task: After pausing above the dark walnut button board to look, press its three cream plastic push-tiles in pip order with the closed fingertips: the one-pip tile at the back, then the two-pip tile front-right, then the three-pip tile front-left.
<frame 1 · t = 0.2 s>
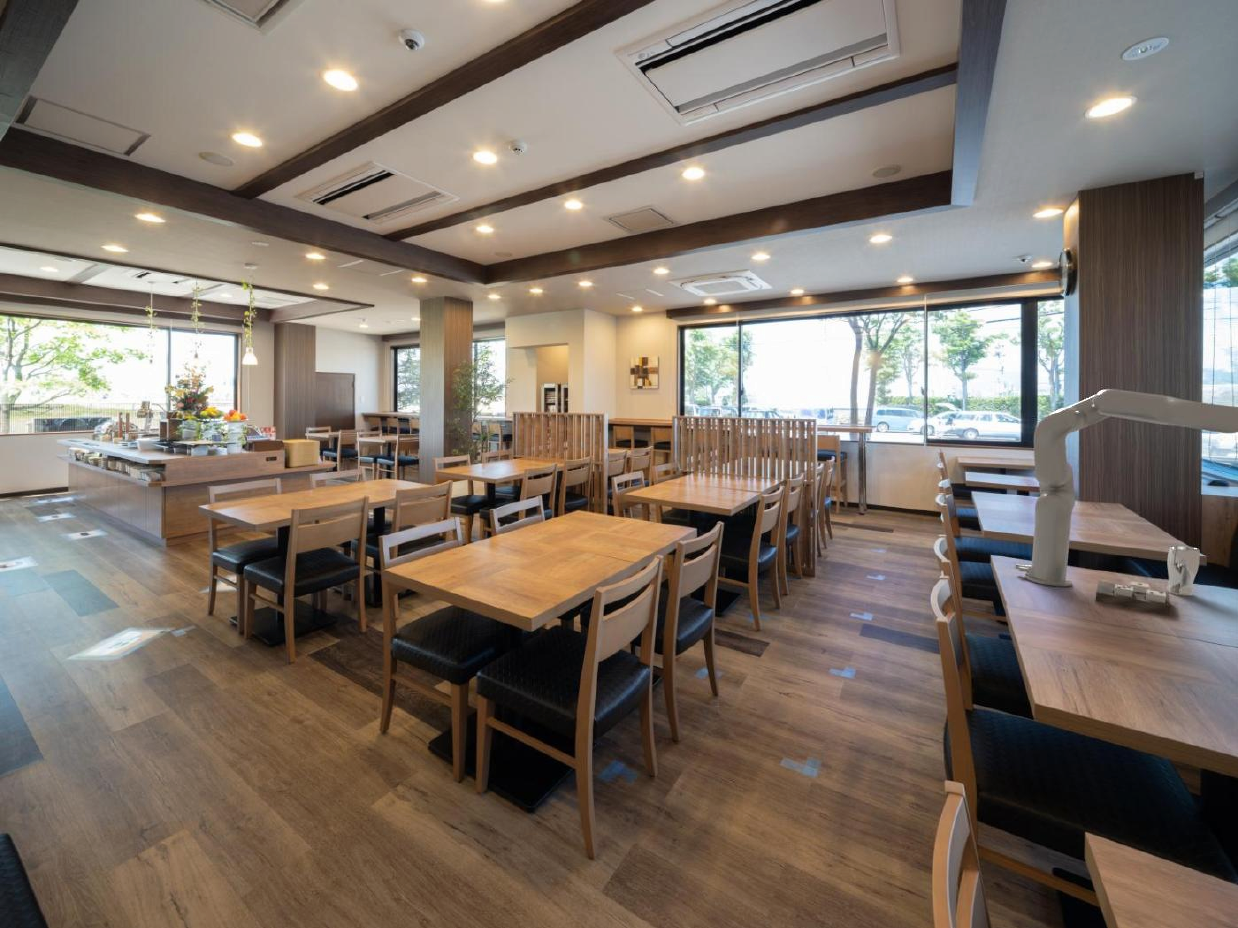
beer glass: (1179, 593, 170), on the table
tile two pips: (1155, 597, 157), point 4 cm above the table, slide at 0.0 cm
tile three pips: (1123, 591, 162), point 4 cm above the table, slide at 0.0 cm
tile one pip: (1139, 588, 165), point 4 cm above the table, slide at 0.0 cm
button board: (1131, 601, 163), on the table
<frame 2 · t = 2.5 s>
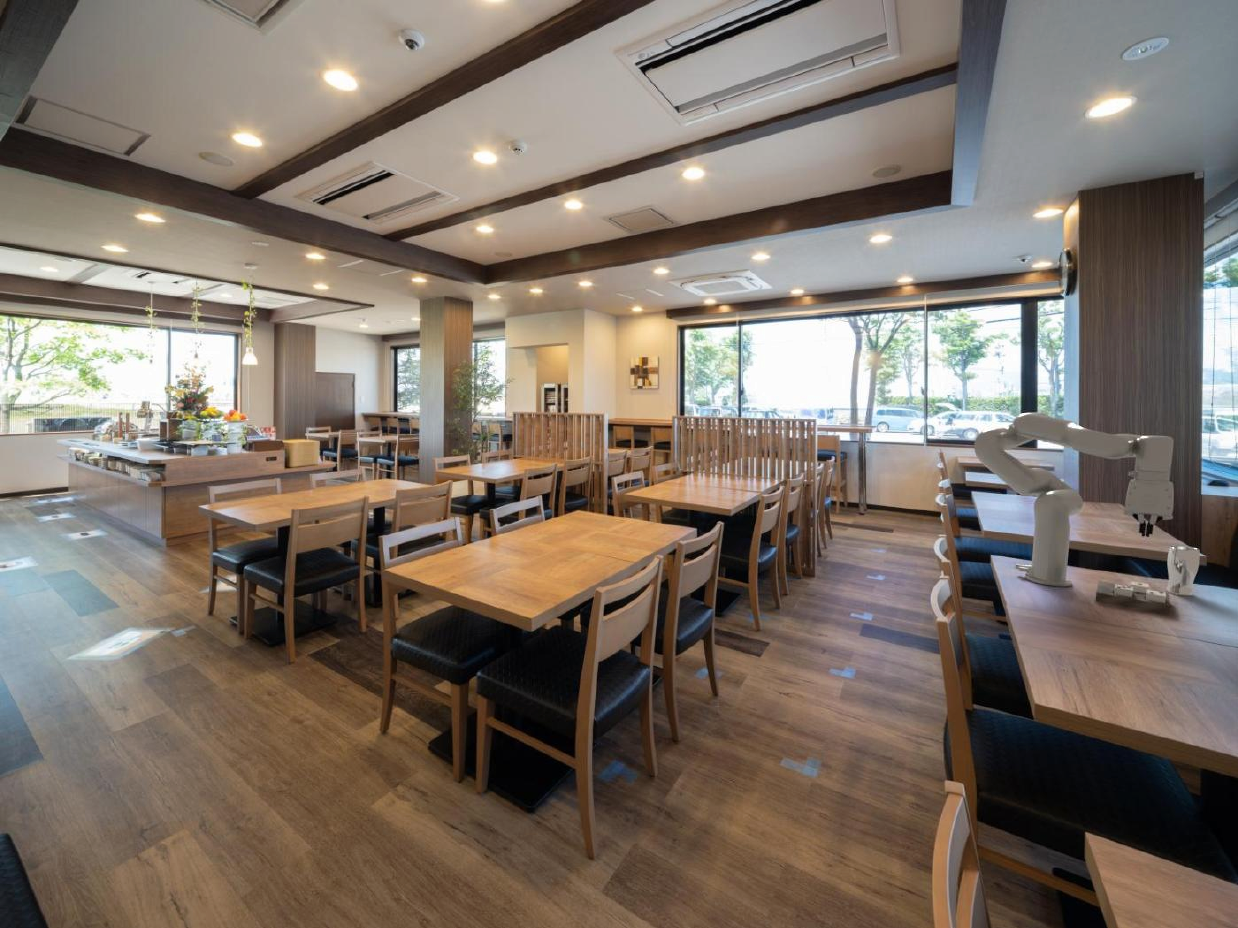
hand: (1145, 535, 160), 21 cm above the table, fingers closed
nothing on the table moved.
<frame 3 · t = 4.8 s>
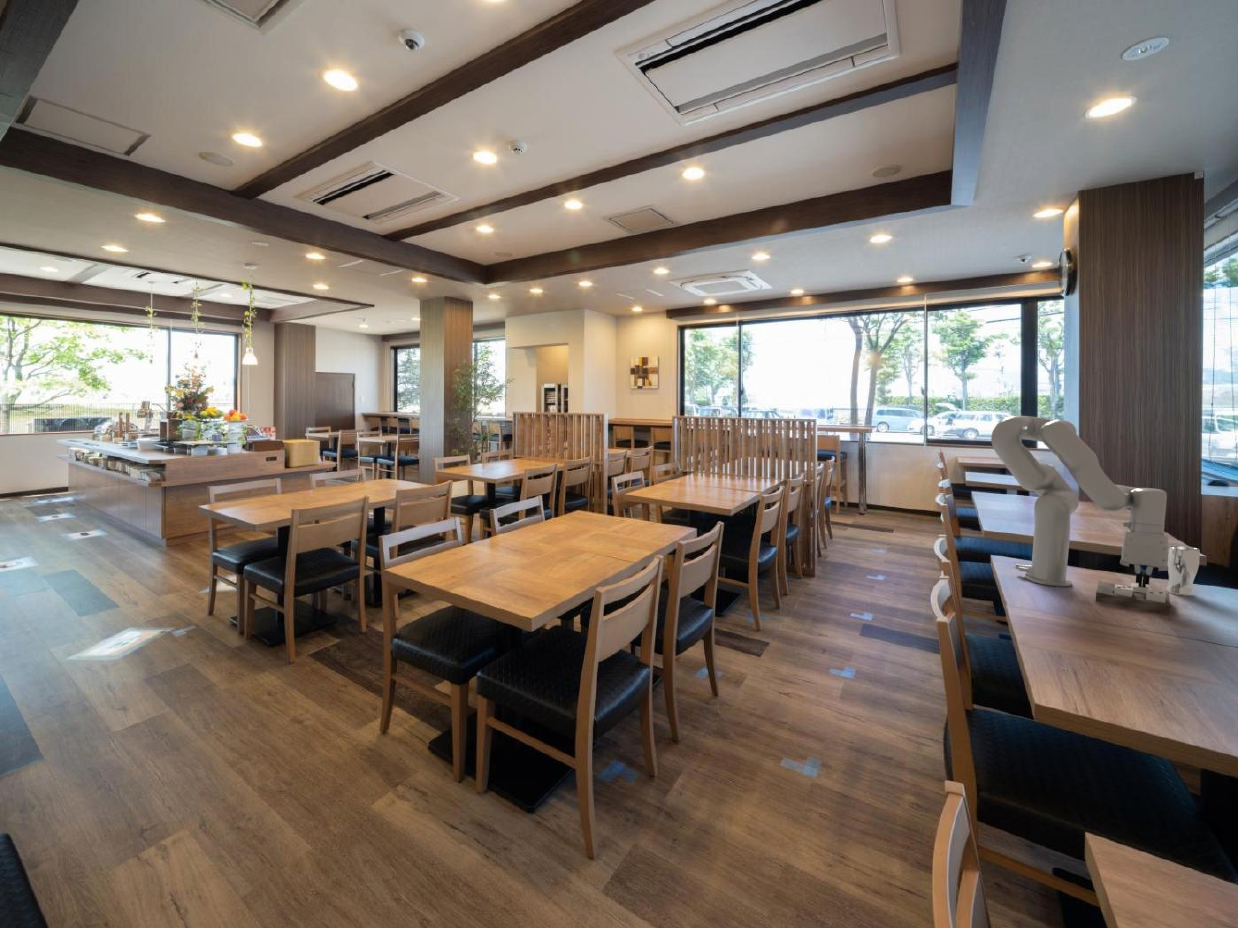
hand: (1142, 585, 164), 5 cm above the table, fingers closed
tile one pip: (1139, 590, 165), point 3 cm above the table, slide at 0.5 cm, touching gripper
everything else where it was.
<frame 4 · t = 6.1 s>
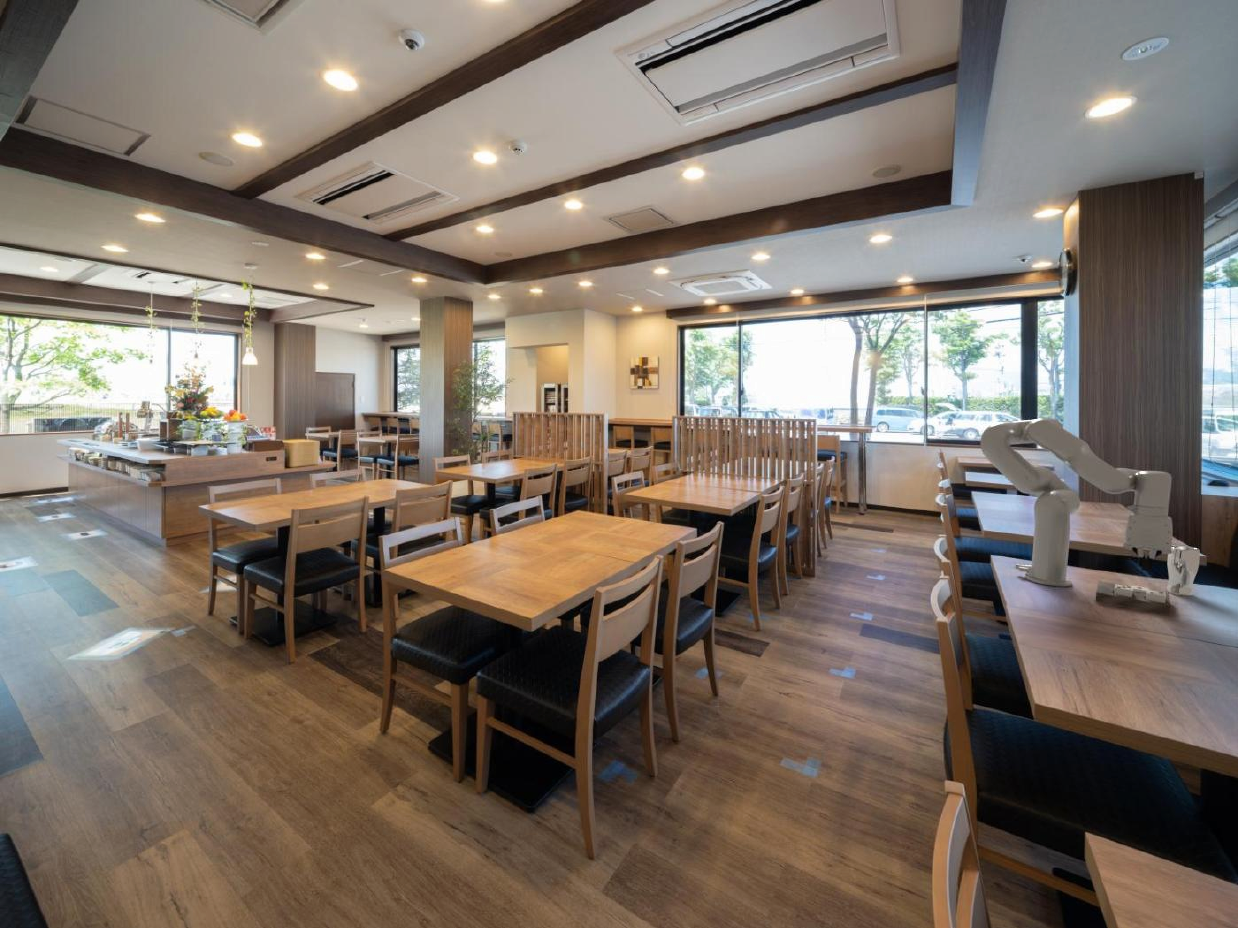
hand: (1144, 569, 163), 10 cm above the table, fingers closed
tile one pip: (1138, 592, 165), point 2 cm above the table, slide at 1.2 cm
everything else where it was.
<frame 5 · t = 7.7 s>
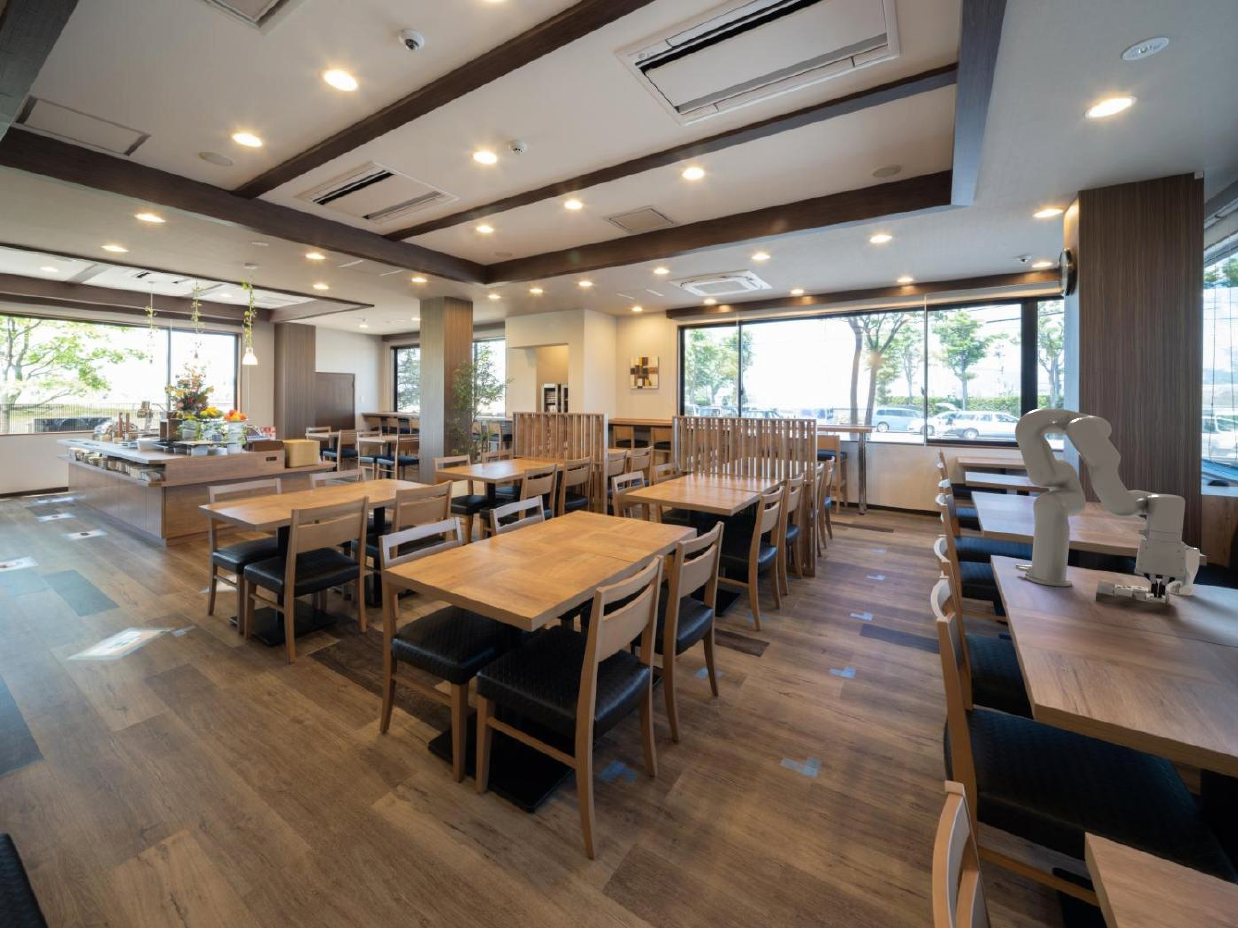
hand: (1157, 596, 157), 4 cm above the table, fingers closed
tile two pips: (1155, 601, 157), point 2 cm above the table, slide at 1.1 cm, touching gripper
everything else where it was.
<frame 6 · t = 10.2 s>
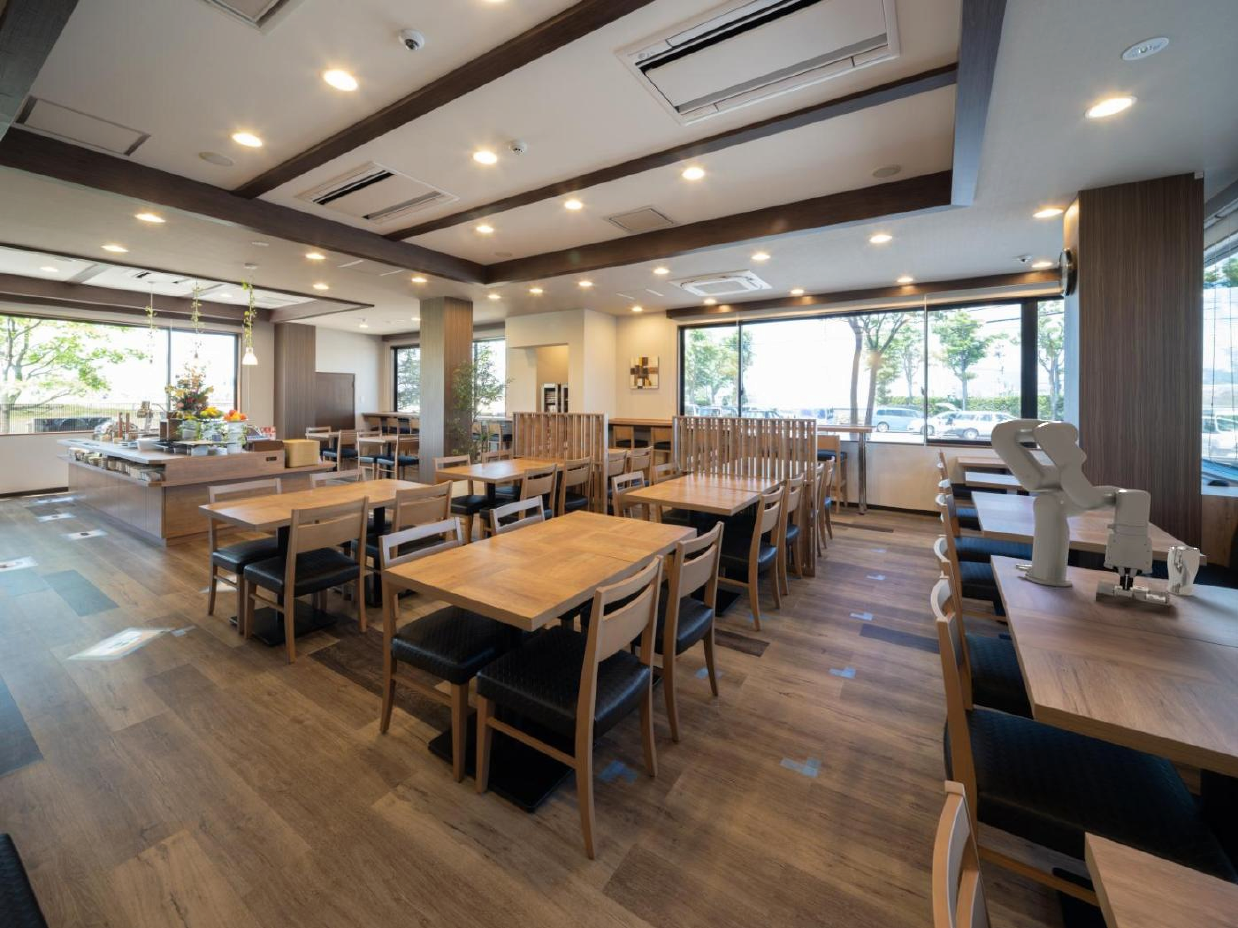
hand: (1125, 588, 161), 5 cm above the table, fingers closed
tile two pips: (1155, 601, 157), point 2 cm above the table, slide at 1.3 cm
tile three pips: (1123, 593, 162), point 3 cm above the table, slide at 0.4 cm, touching gripper
everything else where it was.
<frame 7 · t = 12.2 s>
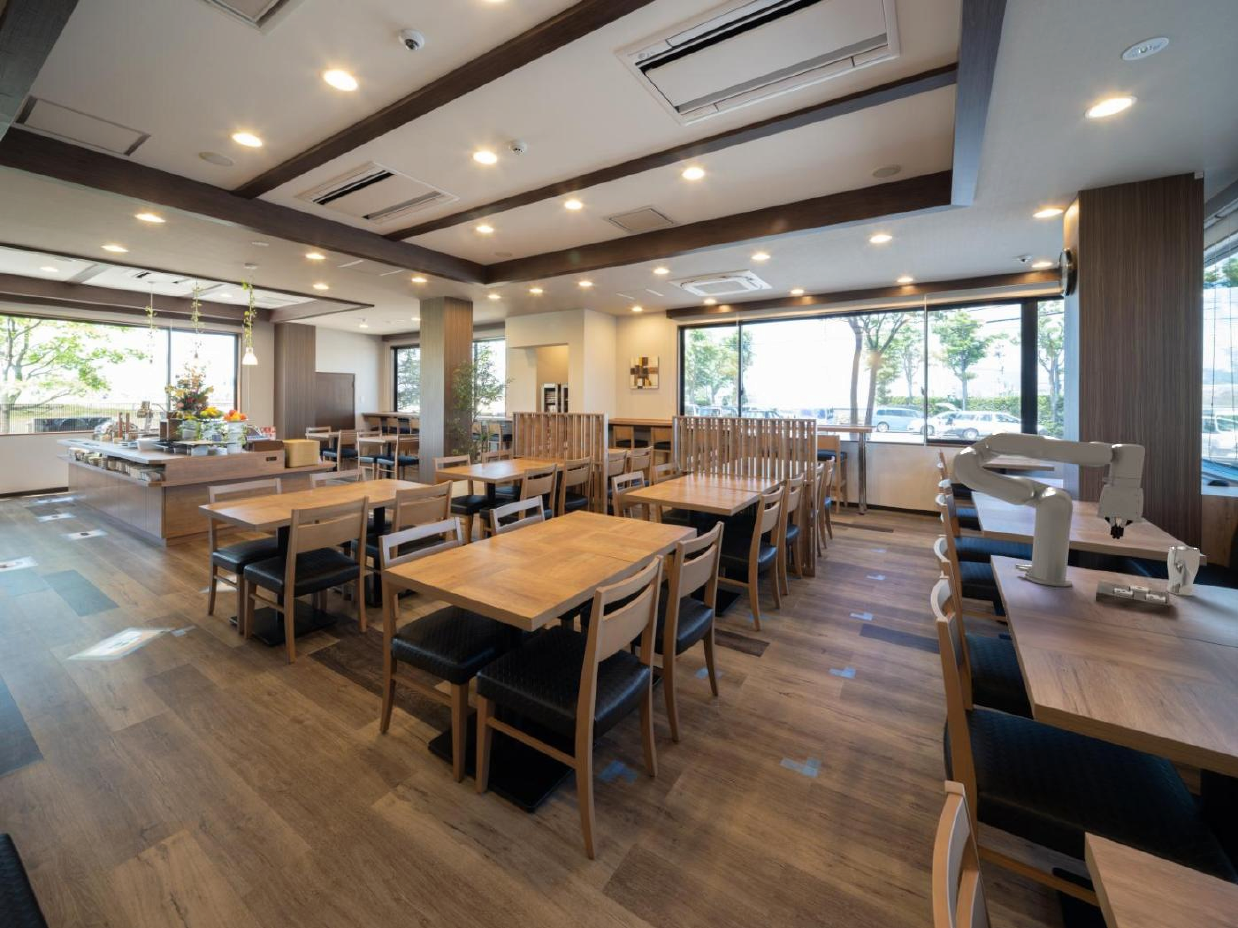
hand: (1116, 538, 171), 18 cm above the table, fingers closed
tile three pips: (1122, 595, 162), point 2 cm above the table, slide at 1.2 cm
everything else where it was.
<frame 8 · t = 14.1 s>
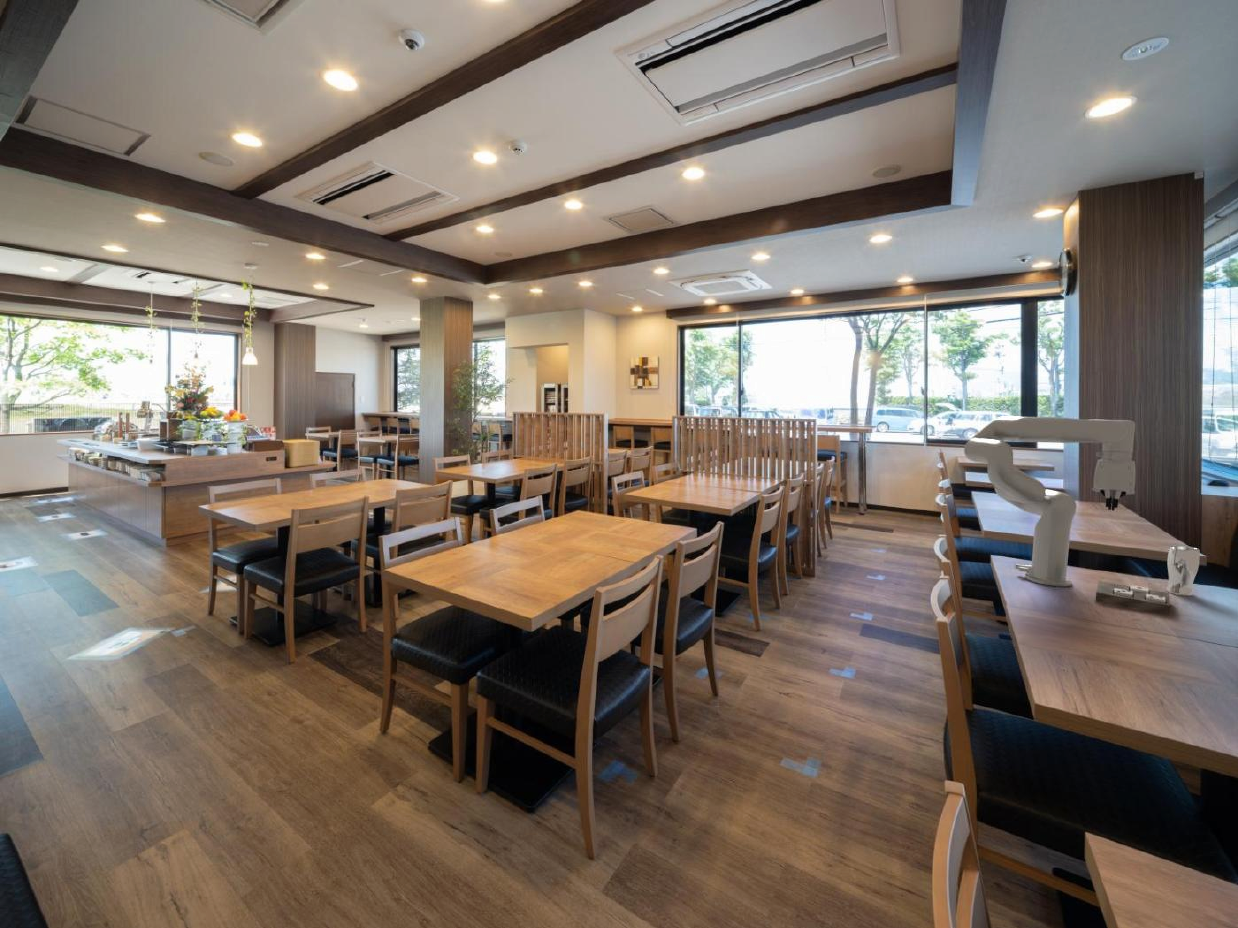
hand: (1111, 509, 180), 25 cm above the table, fingers closed
nothing on the table moved.
at the end: tile one pip slide at 1.2 cm; tile two pips slide at 1.3 cm; tile three pips slide at 1.2 cm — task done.
